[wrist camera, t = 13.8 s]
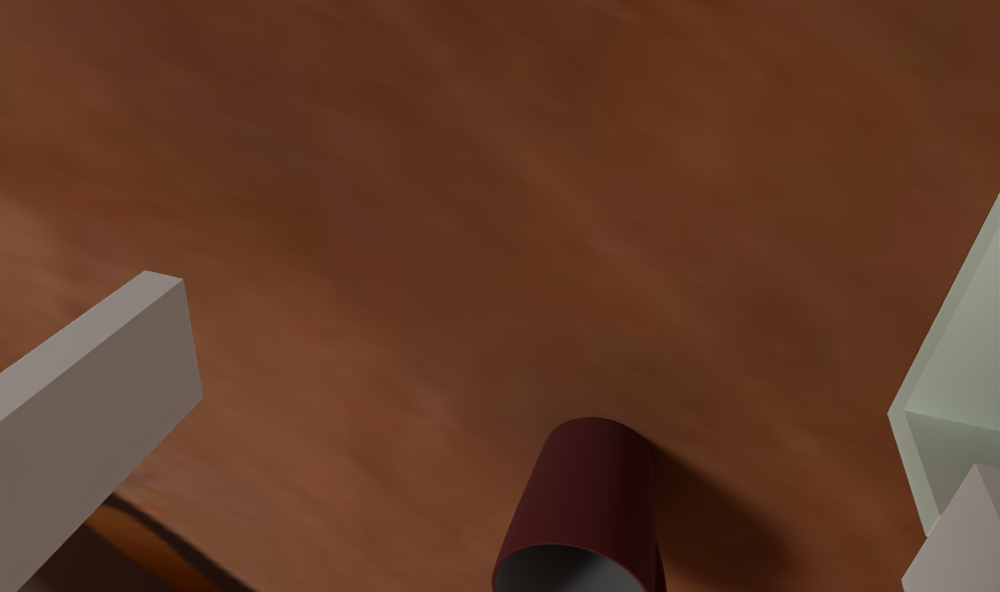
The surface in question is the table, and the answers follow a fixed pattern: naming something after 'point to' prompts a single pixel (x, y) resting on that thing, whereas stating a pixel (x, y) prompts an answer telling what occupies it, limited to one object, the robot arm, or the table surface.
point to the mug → (585, 516)
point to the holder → (955, 384)
